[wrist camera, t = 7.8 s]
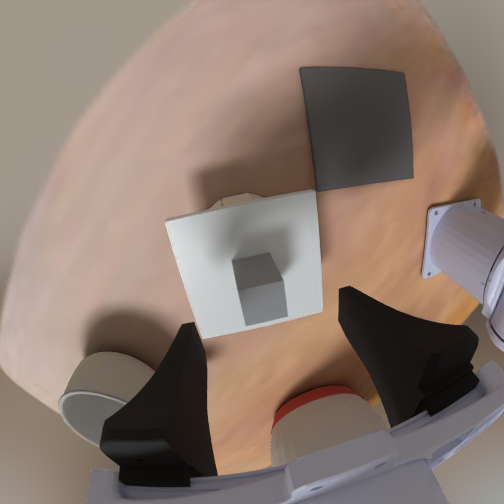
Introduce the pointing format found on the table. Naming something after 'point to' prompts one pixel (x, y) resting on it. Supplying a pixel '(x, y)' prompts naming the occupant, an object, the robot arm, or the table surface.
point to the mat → (357, 126)
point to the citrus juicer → (320, 422)
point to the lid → (250, 262)
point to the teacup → (101, 391)
